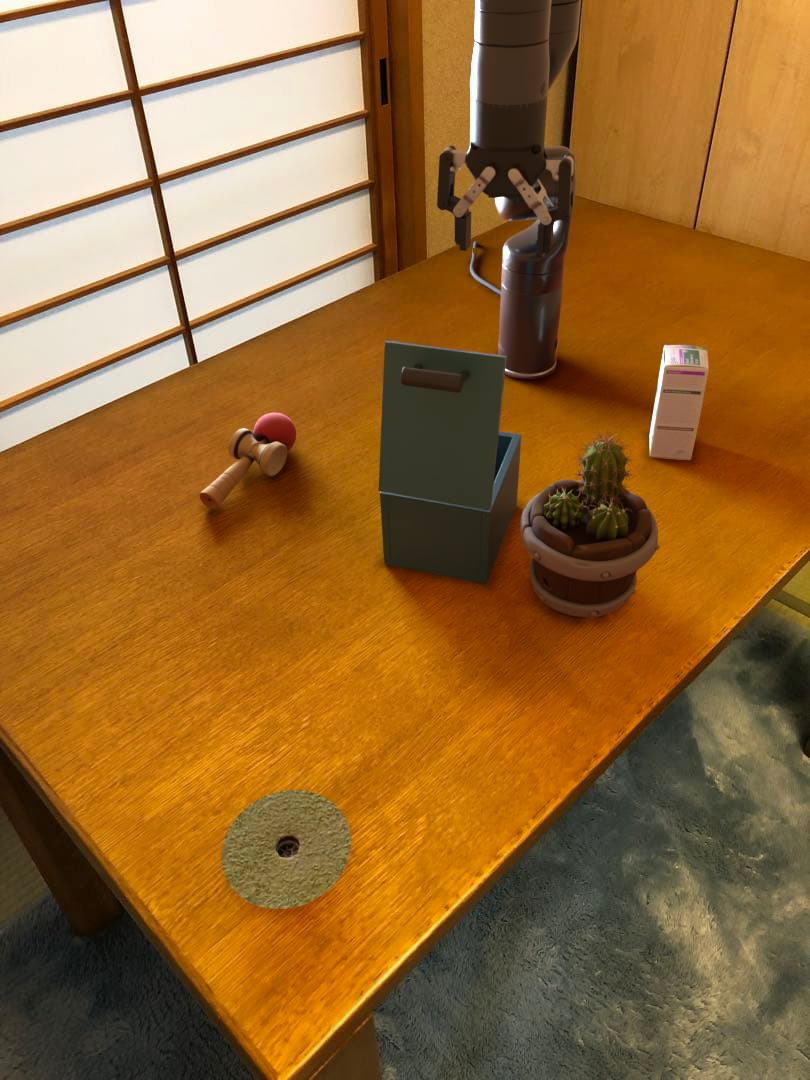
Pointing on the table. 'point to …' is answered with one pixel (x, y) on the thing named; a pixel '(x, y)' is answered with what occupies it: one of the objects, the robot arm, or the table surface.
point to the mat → (286, 849)
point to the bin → (453, 525)
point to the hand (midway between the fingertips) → (502, 251)
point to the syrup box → (678, 401)
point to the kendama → (253, 454)
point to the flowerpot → (589, 536)
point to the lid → (440, 423)
